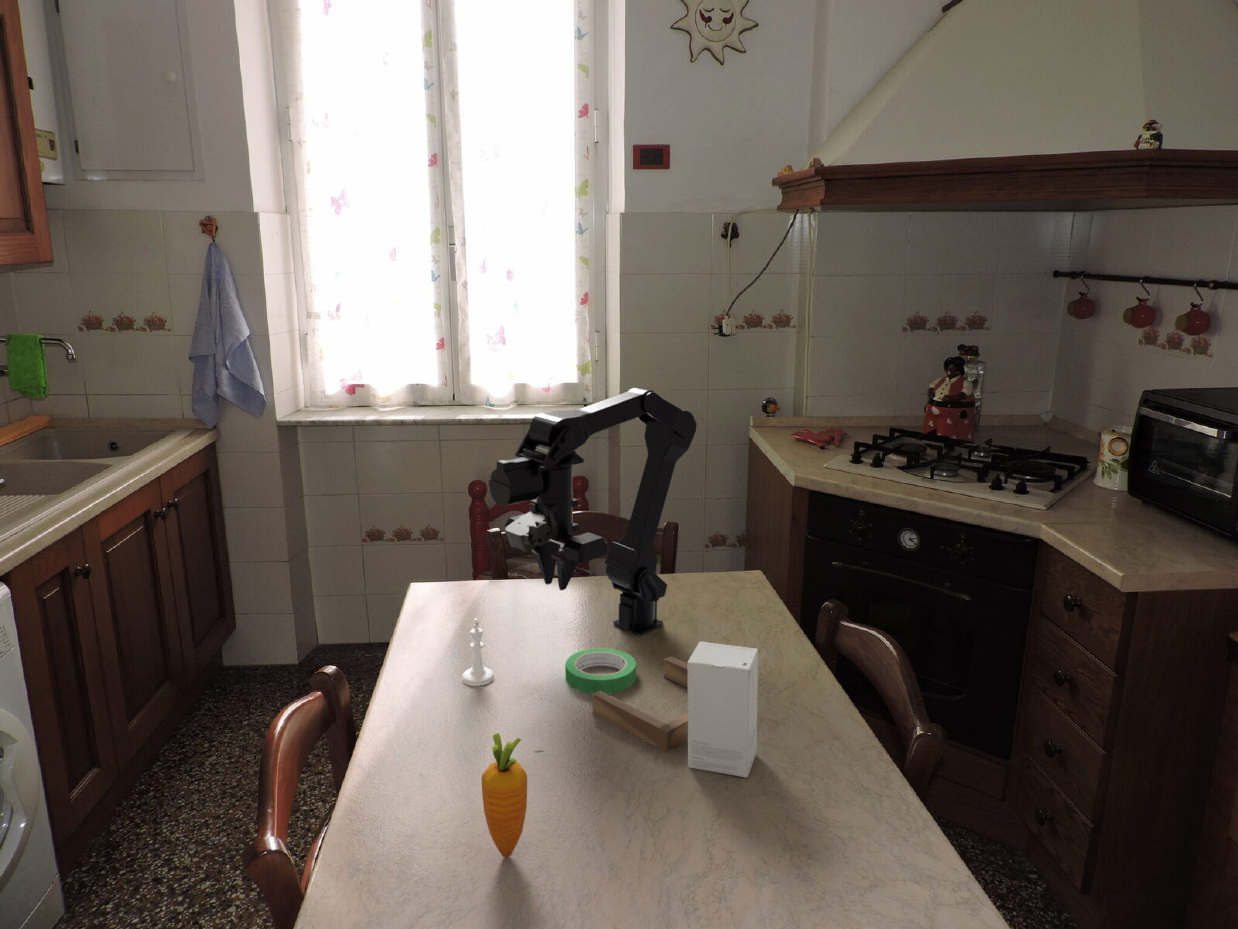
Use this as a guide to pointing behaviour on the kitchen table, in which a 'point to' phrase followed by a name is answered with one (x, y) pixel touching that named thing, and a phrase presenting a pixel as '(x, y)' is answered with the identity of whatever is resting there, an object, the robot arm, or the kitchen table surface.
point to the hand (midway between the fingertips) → (555, 586)
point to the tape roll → (600, 682)
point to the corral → (642, 722)
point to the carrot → (504, 797)
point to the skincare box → (722, 708)
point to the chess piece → (477, 661)
